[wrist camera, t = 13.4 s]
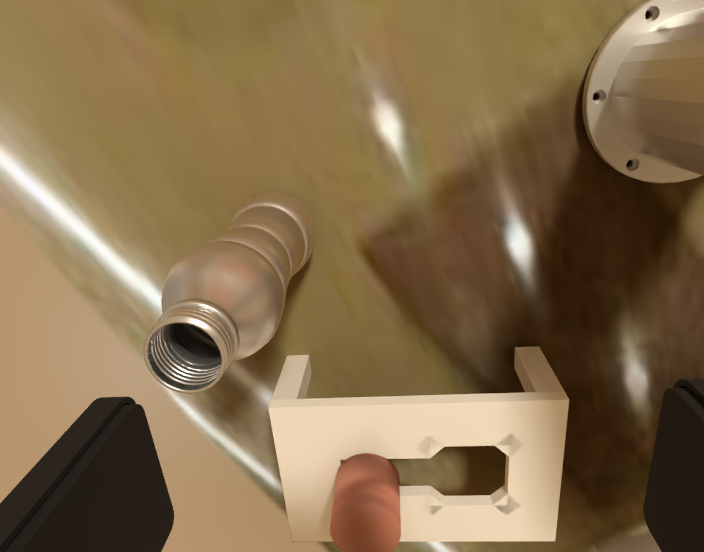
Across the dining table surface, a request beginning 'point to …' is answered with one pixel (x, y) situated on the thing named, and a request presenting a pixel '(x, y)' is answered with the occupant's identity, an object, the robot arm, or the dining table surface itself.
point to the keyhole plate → (427, 452)
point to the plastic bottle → (229, 293)
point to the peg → (366, 505)
